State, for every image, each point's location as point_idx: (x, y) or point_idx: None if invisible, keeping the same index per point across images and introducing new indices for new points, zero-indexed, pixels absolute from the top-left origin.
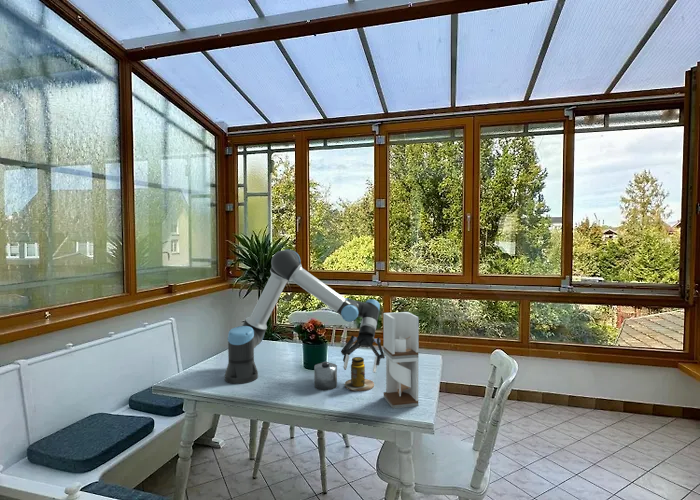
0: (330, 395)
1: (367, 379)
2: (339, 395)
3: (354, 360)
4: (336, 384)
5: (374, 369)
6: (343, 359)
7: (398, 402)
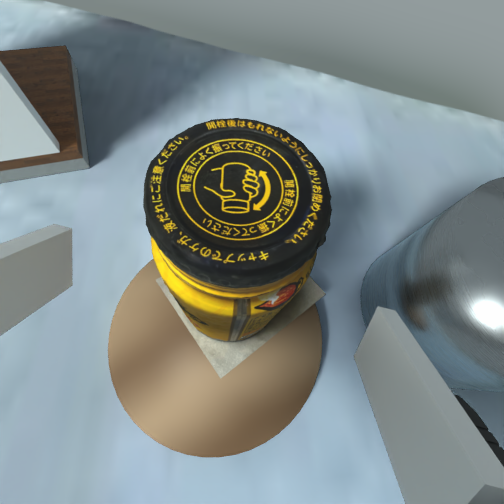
0: (362, 190)
1: (150, 431)
2: None
3: (285, 131)
4: (369, 290)
5: (50, 226)
6: (472, 415)
7: (33, 49)
